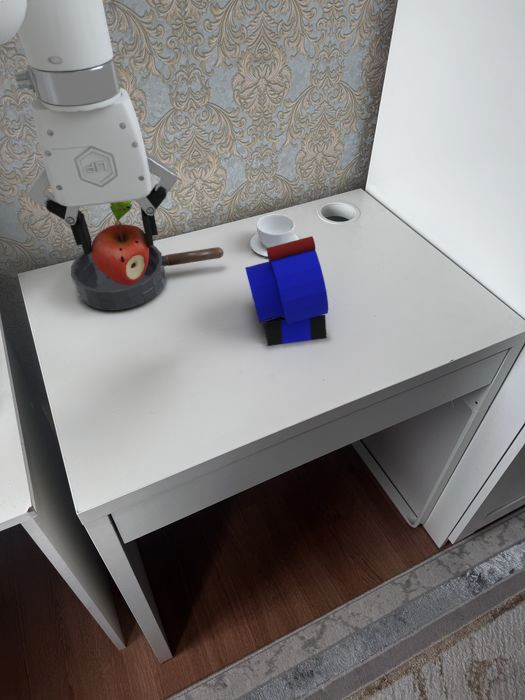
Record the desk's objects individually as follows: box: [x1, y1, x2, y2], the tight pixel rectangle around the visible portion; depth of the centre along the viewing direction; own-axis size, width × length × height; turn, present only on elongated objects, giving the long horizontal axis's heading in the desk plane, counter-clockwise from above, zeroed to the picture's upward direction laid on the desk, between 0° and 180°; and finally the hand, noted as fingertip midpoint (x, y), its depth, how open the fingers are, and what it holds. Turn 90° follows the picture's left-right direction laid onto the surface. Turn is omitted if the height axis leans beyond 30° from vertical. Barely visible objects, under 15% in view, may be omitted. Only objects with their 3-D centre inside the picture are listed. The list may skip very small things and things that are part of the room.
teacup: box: [249, 213, 300, 258], centre depth 93 cm, size 10×10×5 cm
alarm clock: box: [244, 235, 329, 347], centre depth 75 cm, size 12×12×15 cm
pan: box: [70, 245, 167, 311], centre depth 85 cm, size 16×16×4 cm
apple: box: [91, 201, 149, 286], centre depth 58 cm, size 8×7×10 cm
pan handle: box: [162, 246, 224, 267], centre depth 86 cm, size 12×2×2 cm, turn 104°
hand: (119, 242), depth 58 cm, fingers closed on apple, 6 cm apart
